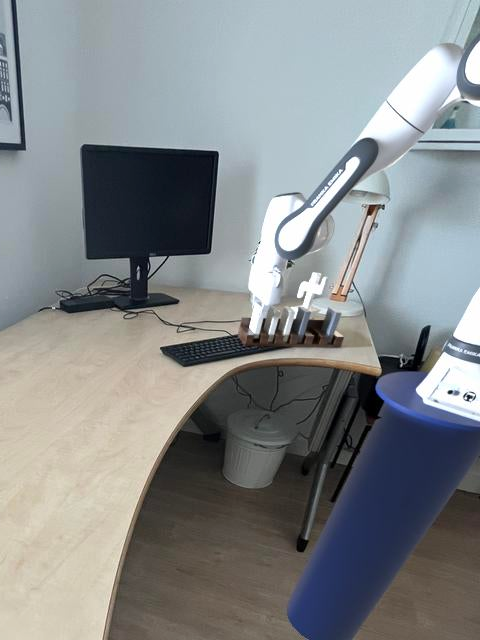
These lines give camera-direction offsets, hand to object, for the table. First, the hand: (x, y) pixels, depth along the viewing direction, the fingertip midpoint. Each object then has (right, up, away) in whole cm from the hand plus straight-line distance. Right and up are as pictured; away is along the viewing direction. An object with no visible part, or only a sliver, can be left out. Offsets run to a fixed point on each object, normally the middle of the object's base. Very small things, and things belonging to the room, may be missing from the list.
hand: (258, 313), depth 132 cm
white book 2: (+4, -6, +5) cm, 9 cm away
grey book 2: (+23, -6, +5) cm, 24 cm away
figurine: (+26, +9, +25) cm, 37 cm away
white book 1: (0, -5, +4) cm, 6 cm away
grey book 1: (+14, -6, +5) cm, 16 cm away
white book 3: (+9, -6, +5) cm, 12 cm away
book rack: (+11, -7, +5) cm, 14 cm away
